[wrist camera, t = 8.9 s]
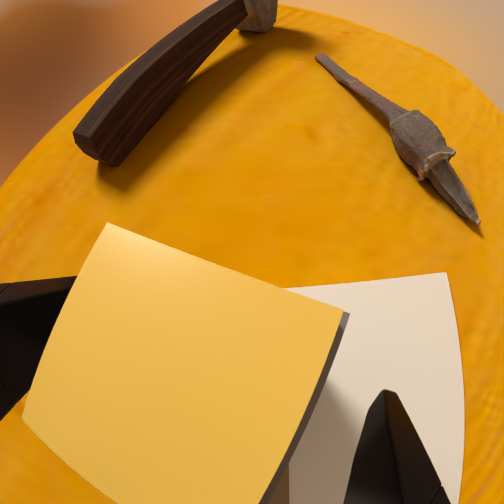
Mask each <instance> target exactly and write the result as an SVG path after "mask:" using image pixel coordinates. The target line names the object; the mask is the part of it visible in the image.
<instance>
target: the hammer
mask: <svg viewBox="0 0 504 504" xmlns="http://www.w3.org/2000/svg"><path fill="white" fill-rule="evenodd" d="M276 15H277V0H218V1H217V2H215V3H213V4H212V5H210V6H209V7H207V8H205V9H204V10H202V11H201V12H200V13H198V14H196V15H195V16H193V17H192V18H190V19H189V20H187V21H186V22H185V23H183V24H182V25H180V26H179V27H177V28H176V29H175V30H173V31H172V32H171V33H169V34H168V35H167V36H165V37H164V38H163V39H161V40H160V41H159V42H158V43H156V44H155V45H154V46H153V47H151V48H150V49H149V50H148V51H146V52H145V53H144V54H143V55H142V56H141V57H139V58H138V59H137V60H136V61H135V62H134V63H132V64H131V65H130V66H129V67H128V68H127V69H126V70H125V71H124V72H122V73H121V74H120V75H119V76H118V77H117V78H116V79H115V80H114V81H113V82H112V84H111V85H110V86H109V87H108V88H107V89H106V91H105V92H104V93H103V94H102V95H101V96H100V98H99V99H98V100H97V101H96V102H95V104H94V105H93V106H92V107H91V109H90V110H89V111H88V112H87V114H86V115H85V116H84V118H83V119H82V120H81V122H80V123H79V124H78V126H77V127H76V128H75V130H74V131H73V136H74V140H75V143H76V144H77V145H78V147H79V148H80V149H81V150H82V151H83V152H84V153H85V154H87V155H88V156H90V157H92V158H93V159H95V160H98V161H101V162H103V163H106V164H108V165H111V166H119V165H120V164H121V162H122V161H123V160H124V159H125V158H126V157H127V155H128V154H129V153H130V152H131V151H132V150H133V149H134V147H135V146H136V145H137V144H138V143H139V141H140V140H141V139H142V137H143V136H144V135H145V134H146V132H147V131H148V130H149V129H150V128H151V126H152V125H153V124H154V123H155V121H156V120H157V119H158V118H159V117H160V116H161V114H162V113H163V111H164V110H165V109H166V107H167V106H168V105H169V103H170V102H171V101H172V100H173V98H174V97H175V96H176V94H177V93H178V92H179V91H180V89H181V88H182V87H183V86H184V84H185V83H186V82H187V81H188V80H189V78H190V77H191V76H192V75H193V74H194V72H195V71H196V70H197V69H198V68H199V67H200V65H201V64H202V63H203V62H204V61H205V60H206V59H207V57H208V56H209V55H210V54H211V53H212V52H213V51H214V50H215V49H216V47H217V46H218V45H219V44H220V43H221V42H222V41H223V40H224V39H225V38H226V37H227V36H228V35H229V34H230V33H231V32H232V31H233V30H234V29H238V30H240V31H252V32H262V33H266V32H267V31H268V30H270V29H271V28H272V26H273V25H274V23H275V21H276Z"/></svg>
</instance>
